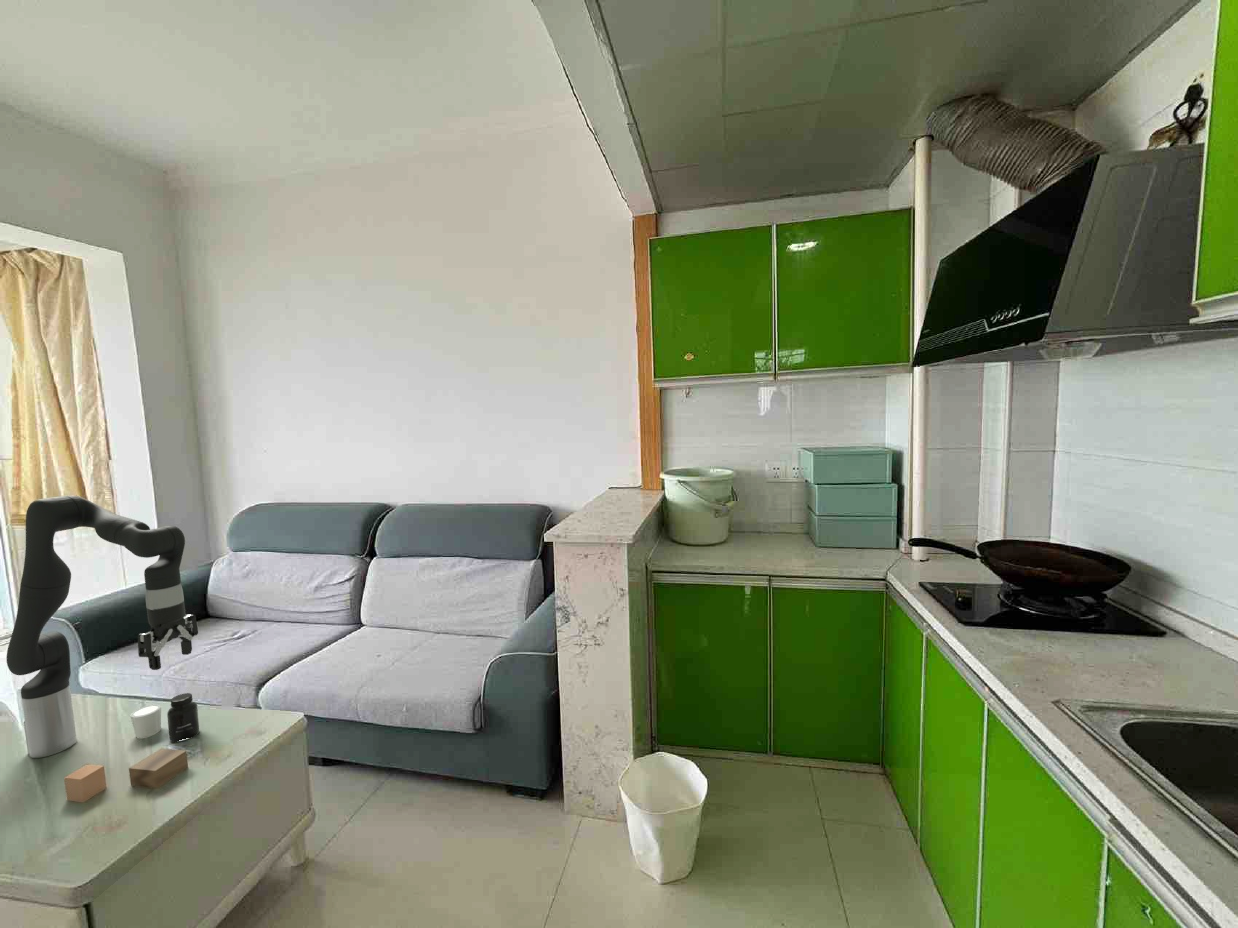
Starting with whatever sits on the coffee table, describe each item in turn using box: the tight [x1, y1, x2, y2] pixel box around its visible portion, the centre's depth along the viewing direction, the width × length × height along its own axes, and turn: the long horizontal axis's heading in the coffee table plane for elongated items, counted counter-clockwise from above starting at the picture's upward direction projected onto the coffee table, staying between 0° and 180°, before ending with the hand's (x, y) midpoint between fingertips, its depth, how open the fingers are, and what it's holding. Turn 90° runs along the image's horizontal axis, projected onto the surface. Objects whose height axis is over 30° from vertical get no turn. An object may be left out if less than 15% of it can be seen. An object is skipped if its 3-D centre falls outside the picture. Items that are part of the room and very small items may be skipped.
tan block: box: [63, 763, 108, 803], centre depth 130 cm, size 5×5×6 cm
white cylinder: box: [130, 704, 162, 739], centre depth 156 cm, size 7×7×7 cm
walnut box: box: [128, 747, 189, 790], centre depth 136 cm, size 8×8×5 cm
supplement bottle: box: [166, 692, 200, 743], centre depth 153 cm, size 7×7×12 cm
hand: (171, 661), depth 139 cm, fingers open, 8 cm apart
